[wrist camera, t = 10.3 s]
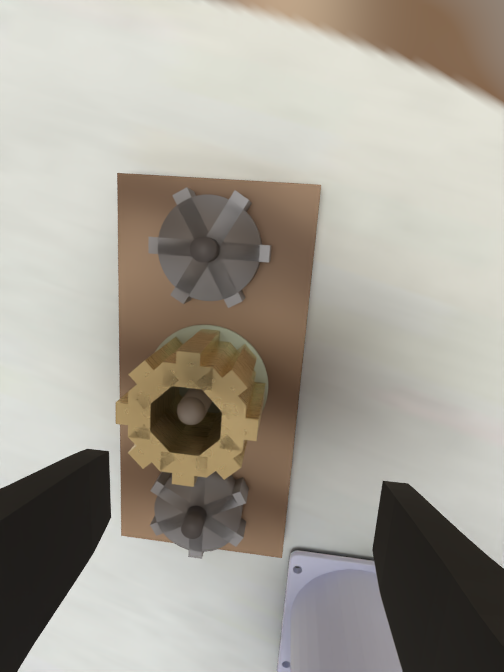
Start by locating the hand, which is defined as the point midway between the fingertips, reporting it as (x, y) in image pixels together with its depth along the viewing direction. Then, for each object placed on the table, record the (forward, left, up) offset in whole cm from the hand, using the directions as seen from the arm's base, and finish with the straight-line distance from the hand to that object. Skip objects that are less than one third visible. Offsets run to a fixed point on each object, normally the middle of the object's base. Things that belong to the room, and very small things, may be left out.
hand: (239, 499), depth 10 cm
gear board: (0, +3, -10) cm, 11 cm away
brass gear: (0, +3, -9) cm, 9 cm away
